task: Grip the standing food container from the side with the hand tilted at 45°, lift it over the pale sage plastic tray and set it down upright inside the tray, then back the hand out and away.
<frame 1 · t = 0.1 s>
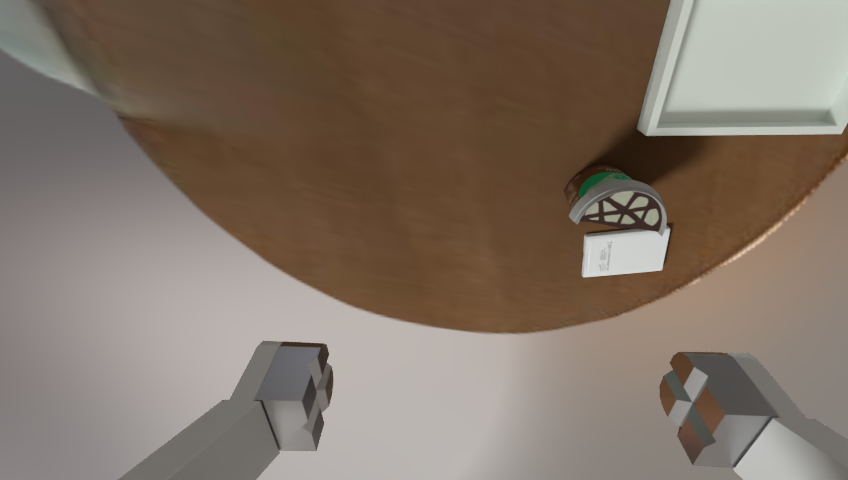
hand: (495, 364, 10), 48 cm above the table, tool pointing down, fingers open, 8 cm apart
food container: (601, 176, 58), on the table
external hard drive: (620, 248, 65), on the table
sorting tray: (757, 54, 48), on the table
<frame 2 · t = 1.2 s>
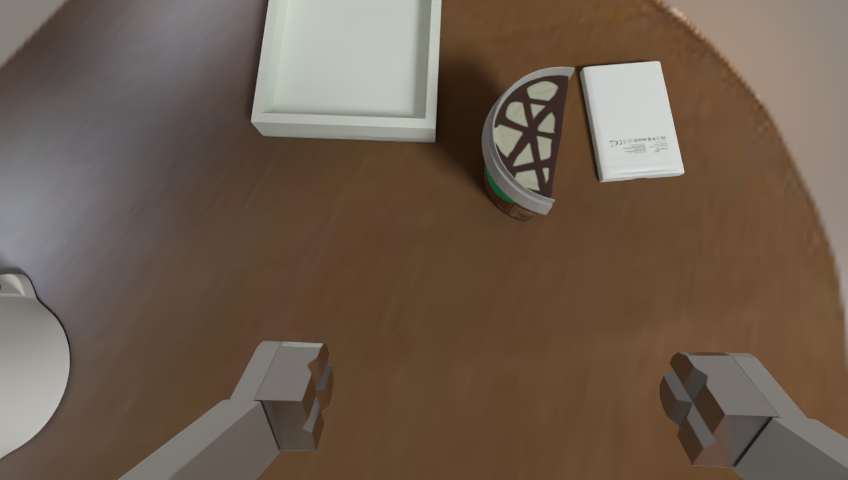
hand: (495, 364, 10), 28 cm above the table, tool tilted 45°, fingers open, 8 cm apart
food container: (502, 173, 41), on the table
external hard drive: (624, 126, 42), on the table
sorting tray: (358, 38, 44), on the table
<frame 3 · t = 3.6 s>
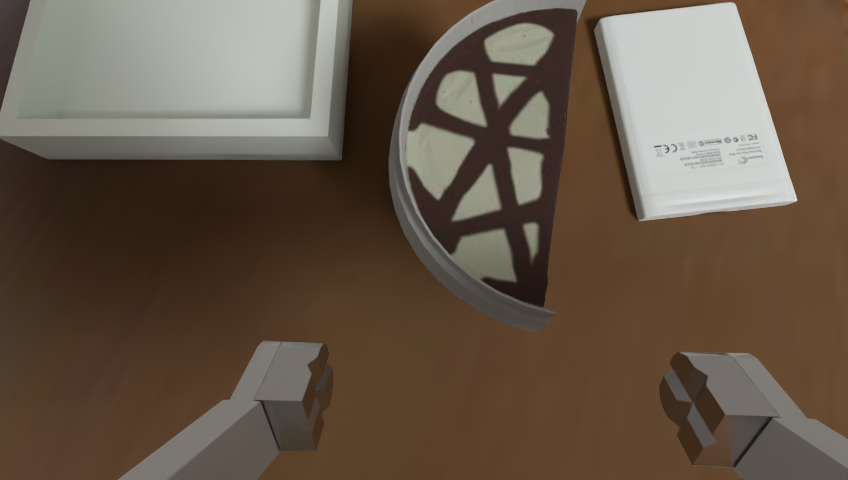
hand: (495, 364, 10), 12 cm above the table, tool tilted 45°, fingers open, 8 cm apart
food container: (461, 211, 23), on the table
external hard drive: (676, 118, 24), on the table
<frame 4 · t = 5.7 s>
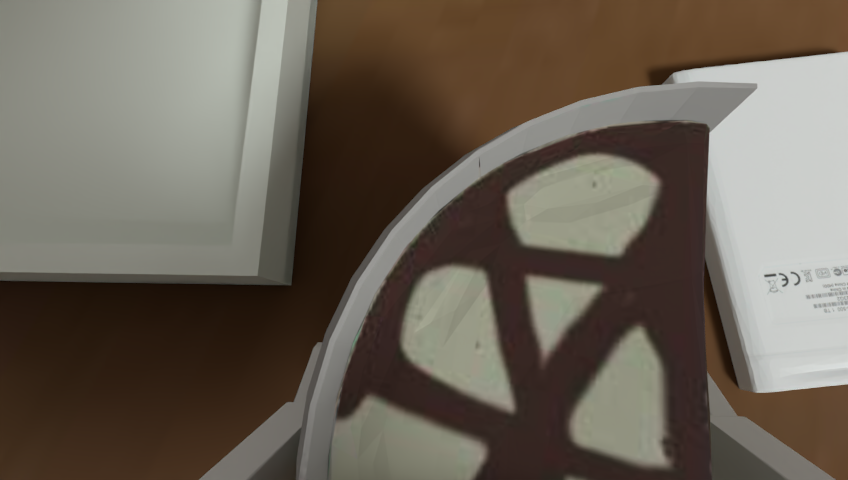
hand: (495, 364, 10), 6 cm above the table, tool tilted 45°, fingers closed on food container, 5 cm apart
food container: (468, 368, 15), on the table, touching gripper
external hard drive: (783, 218, 16), on the table
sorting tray: (126, 27, 19), on the table
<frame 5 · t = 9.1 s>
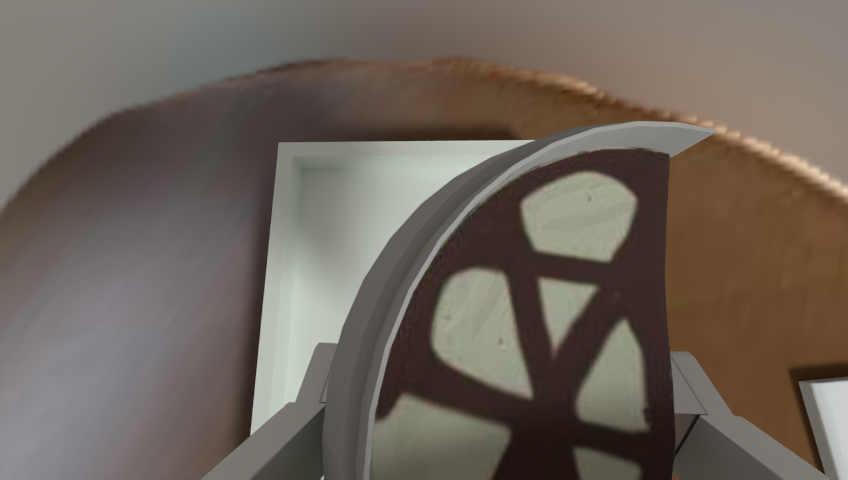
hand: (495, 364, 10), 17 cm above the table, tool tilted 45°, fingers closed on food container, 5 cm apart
food container: (410, 351, 16), point 11 cm above the table, touching gripper
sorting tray: (412, 326, 27), on the table
when the fingers open (8 cm above the table, at t = 11.7 s): food container moves 1 cm, resting on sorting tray.
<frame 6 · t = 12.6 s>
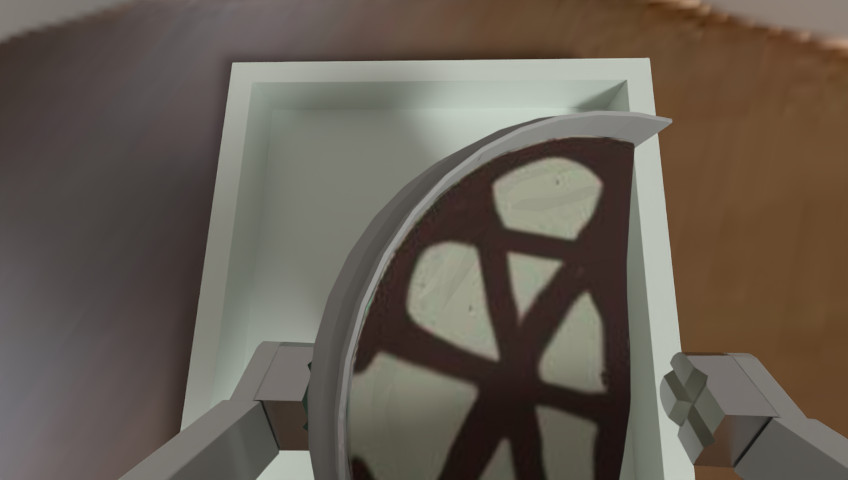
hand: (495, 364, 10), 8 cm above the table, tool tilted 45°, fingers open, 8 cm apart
food container: (402, 337, 16), point 1 cm above the table, touching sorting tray
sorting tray: (431, 344, 18), on the table
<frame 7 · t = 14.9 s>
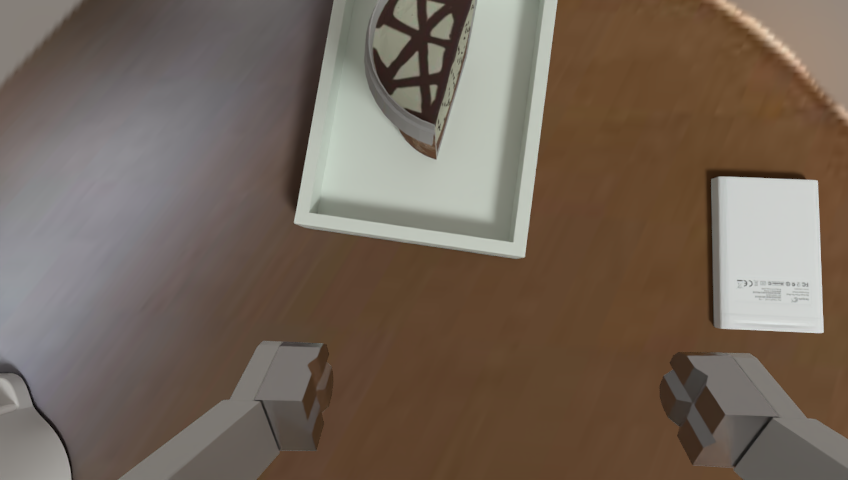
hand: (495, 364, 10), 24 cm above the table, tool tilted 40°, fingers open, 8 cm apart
food container: (417, 99, 34), point 1 cm above the table, touching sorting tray
external hard drive: (754, 254, 34), on the table
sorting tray: (430, 107, 35), on the table
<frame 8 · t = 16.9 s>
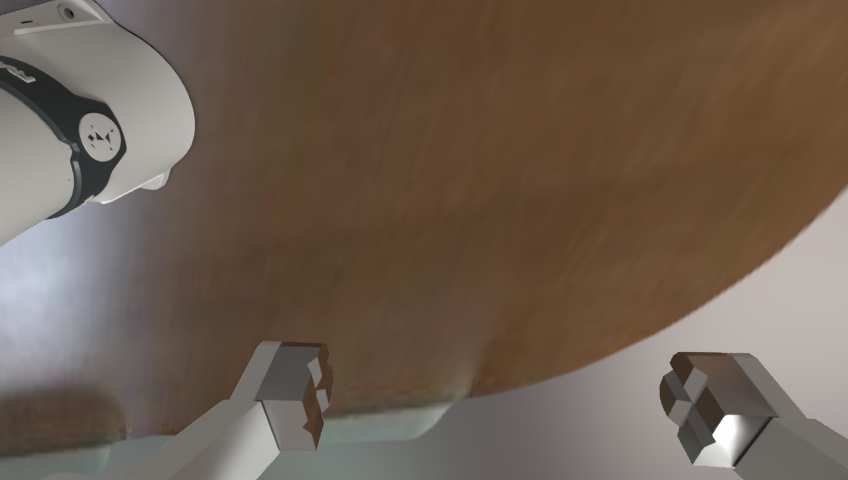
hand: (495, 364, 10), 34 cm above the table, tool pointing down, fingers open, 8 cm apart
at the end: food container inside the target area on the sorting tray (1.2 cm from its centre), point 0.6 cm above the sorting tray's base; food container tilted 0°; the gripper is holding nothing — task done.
